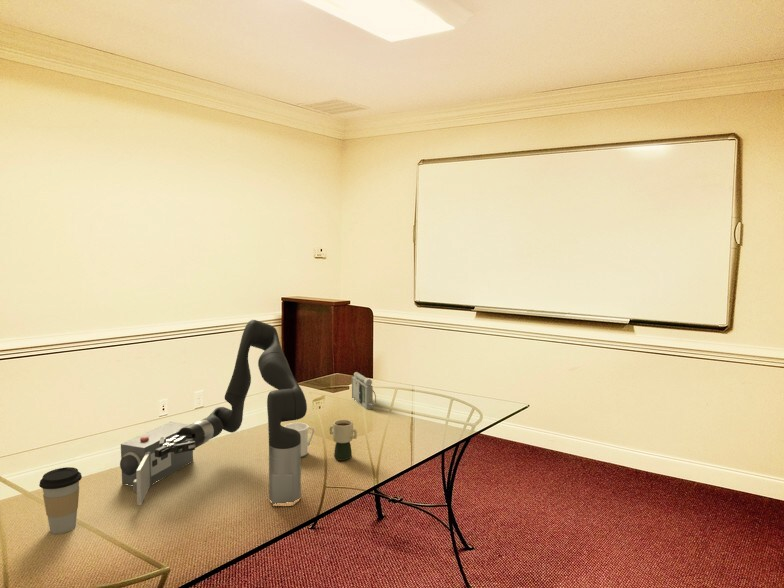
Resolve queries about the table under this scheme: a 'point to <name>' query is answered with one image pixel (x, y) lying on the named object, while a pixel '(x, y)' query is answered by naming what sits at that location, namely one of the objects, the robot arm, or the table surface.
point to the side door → (143, 478)
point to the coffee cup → (61, 498)
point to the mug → (302, 435)
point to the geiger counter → (362, 391)
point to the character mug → (343, 438)
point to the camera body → (152, 454)
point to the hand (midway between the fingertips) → (156, 454)
